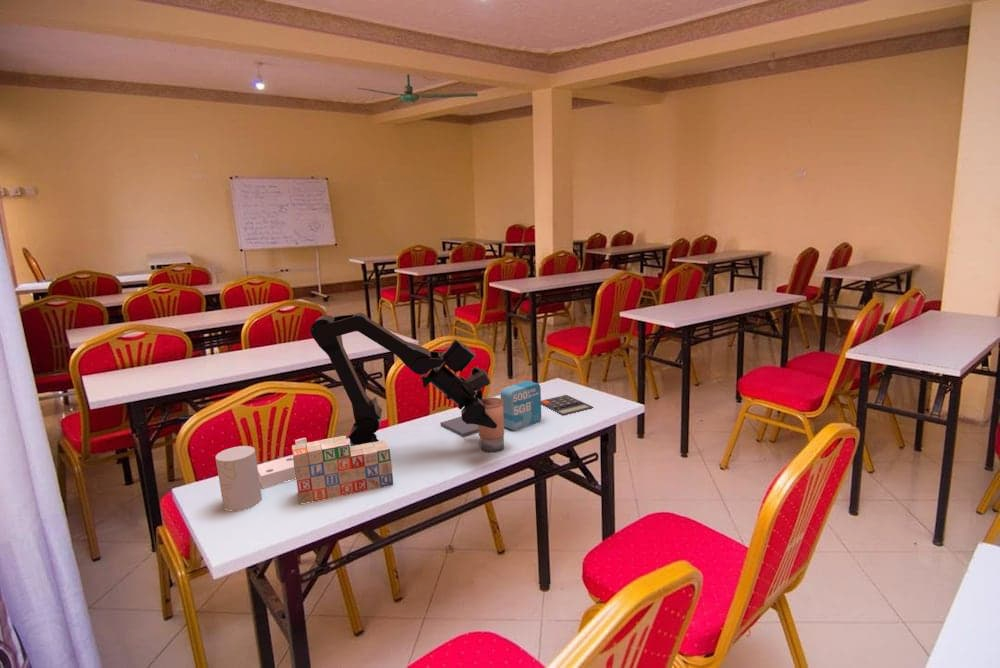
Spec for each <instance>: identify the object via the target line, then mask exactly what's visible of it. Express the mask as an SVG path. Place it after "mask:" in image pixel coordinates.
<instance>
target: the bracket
mask: <svg viewBox="0 0 1000 668" xmlns="http://www.w3.org/2000/svg"><path fill="white" fill-rule="evenodd" d="M294 440H295V441H294V442H295V443H294V445H297V444H302V443H308V441H307V438H306V437H302V438H298V439H294ZM257 467H258V474H259V481H260V484H261V485H260V487H263V488H264V489H266V488H265V487H267V488H270V487H269V486H271V487H273V486H272V485H274V486H276V485H275V484H278V483H281V484H283V483H282V482H284V481H288V480H291V481H293V480H292V479H295V478H296V475H295V469H294V462H293V455H291V456H290V455H289V456H288V457H284V458H280V459H277V460H272V461H269V462H265V463H262V464H257ZM295 480H296V479H295ZM288 482H289V481H288ZM278 485H279V484H278ZM263 488H262V489H263Z"/></svg>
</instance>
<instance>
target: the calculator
mask: <svg viewBox="0 0 1000 668" xmlns="http://www.w3.org/2000/svg"><path fill="white" fill-rule="evenodd" d="M542 405H543V407H544V406H545V408H546V407H547V408H546V409H548V408H549V410H550V409H551V411H552V410H553V411H552V412H554V411H555V413H556V412H557V413H556V414H558V415H560V416H563V417H564V416H568V414H569V415H572V413H573V414H577V413H580V411H581V412H584V410H585V411H588V409H589V410H593V409H594V406H593V405H590V404H587V403H586V402H583V401H582V400H579V399H578V398H575V397H572V396H571V395H567V394H564V395H560V396H555V397H551V398H546V399H541V406H542ZM592 408H593V409H592ZM576 412H577V413H576Z"/></svg>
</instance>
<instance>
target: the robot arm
mask: <svg viewBox="0 0 1000 668" xmlns="http://www.w3.org/2000/svg"><path fill="white" fill-rule="evenodd" d="M354 332H358V333H360V334H362V335H363V336H365V337H367V338H368V339H370V340H371V341H373V342H374V343H376V344H378V345H379V346H381V347H382V348H383V349H386V350H387V351H389V352H390V353H392V354H393V355H395V356H396V357H397V358H399V360H401V362H402V363H403V364H404V365H405V366H406V367H407V368H408V369H410V370H411V371H412V372H413V373H414V374H416V375H419V376H421V380H422V387H423V388H424V389H425V388H426V387H427V386H428V385H429V384H431V385H433V387H435V388H436V389H437V390H438V391H440V392H441V393H443V394H444V395H445V399H447V400H448V401H449V400H451V401H453V403H455V404H456V405H457V408H458V409H459V410H461V411H460V414H461V416H462V420H463V421H464V422H465V423H466V424H476V425H481V426H485V427H489V428H493V429H495V428H496V427H497V424H496V423H495V422H494V421H493V420H492V418H491V417H490V416H489V415H488V414H487V413H486V412H485V404H484V403H483V402H482V401H481V400H480V399H483V393H482V392H483V391H482V388H484V387H487V386H489V385H490V384H491V380H490V377H489V376H488V374H487V372H486V370H485V369H483V368H481V369H480V368H479V367H477V366H475V367H472V368H471V375H468V377H467V378H465V377H463V376H458V375H456V373H459V372H463V370H464V369H466V367H467V366H468V365H469V364H470V363H471V361H473V359H474V358H475V357H476V356H477V355H476V353H475V352H474V351H473V350H472V349H471V348H470V347H469V346H467V344H464V343H462V342H461V341H459V340H458V339H456V338H455V339H454V340H453V341H452V342H451V344H450V345H449V346H448V347H447V349H446V350H445V351H431V350H429V349H428V348H426V347H424V346H422V345H419V344H416V343H413V342H408V341H406V340H404V339H402V338H401V337H399V336H398V335H396V334H395V333H393V332H392V331H390V330H388V329H386V328H385V327H383V326H382V325H380V324H379V323H377V322H376V321H374V320H372V319H371V318H370V317H368V316H367V315H366V314H365V313H363V312H357V313H353V314H343V315H338V316H332V315H329V314H326V315H321V316H320V317H318V318H317V319H316V320H315V321H314V322H313V324H311V327H310V335H311V337H312V338H313V340H314V341H315V343H316V344H317V346H318V347H319V348H320V349H321V350H322V351H323V352H324V353H326V355H327V356H328V358H329V360H330V361H331V364H332V366H333V367H334V370H335V373H336V374H337V377H338V379H339V380H340V382H341V383H340V384H342V387H343V389H344V391H345V393H346V395H347V397H348V400H349V401H350V403H351V407H352V413H353V419H354V423H353V424H352V427H351V429H350V433H349V434H348V435H349V436H348V438H349V444H350V446H355V445H361V444H366V443H371V442H372V443H373V442H377V441H380V440H379V439H378V438H377V434H375V433H376V432H377V431H378V430H379V428H380V426H381V421H382V414H383V413H382V412H383V409H382V408H381V407H380V405H379V402H378V399H377V397H374V398H372V399H371V398H370V397H369V396H368V395H367V393H366V392H365V391H366V390H364V387H363V386H362V382H361V381H360V379H359V377H358V375H357V373H356V371H355V368H354V366H353V364H352V361H351V359H350V357H349V355H348V354H347V351H346V350H345V347H344V344H343V336H344V335H347V334H350V333H354Z"/></svg>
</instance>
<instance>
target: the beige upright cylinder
mask: <svg viewBox="0 0 1000 668" xmlns="http://www.w3.org/2000/svg"><path fill="white" fill-rule="evenodd" d="M215 463H216V468H217V469H216V470H217V474H218V479H219V481H218V482H219V487H220V494H221V498H222V506H223V509H224V508H225V509H227V510H232V511H231V512H239V511H238V510H242V511H245V510H244V509H246V510H248V508H249V509H251V507H252V508H254V507H256V506H257V505H259V504H260V503H261V502H262V500H263V496H262V488H261V485H260V481H259V474H258V467H257V465H258V462H257V453H256V449H255V447H253V446H250V445H249V446H248V445H239V446H234V447H230V448H226V449H224V450H221V451H220V452H218V453H217V454H215ZM260 501H261V502H260ZM259 502H260V503H259ZM258 503H259V504H258ZM256 504H257V505H256ZM255 505H256V506H255ZM253 506H254V507H253ZM225 509H224V510H225ZM227 510H226V511H227Z"/></svg>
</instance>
